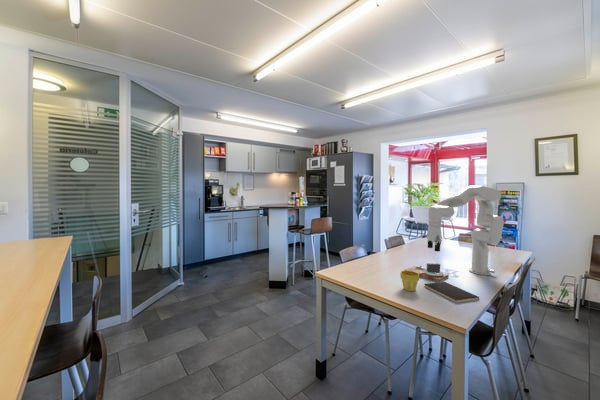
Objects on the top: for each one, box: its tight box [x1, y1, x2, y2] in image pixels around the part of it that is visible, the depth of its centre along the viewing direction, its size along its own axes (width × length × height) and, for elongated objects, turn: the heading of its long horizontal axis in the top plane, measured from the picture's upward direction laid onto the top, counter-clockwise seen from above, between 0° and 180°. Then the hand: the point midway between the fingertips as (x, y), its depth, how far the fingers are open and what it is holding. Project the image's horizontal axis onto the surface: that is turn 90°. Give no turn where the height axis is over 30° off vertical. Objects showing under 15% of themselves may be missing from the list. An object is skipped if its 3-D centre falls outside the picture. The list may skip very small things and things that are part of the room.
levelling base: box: [403, 265, 449, 283], centre depth 176 cm, size 24×14×4 cm, turn 38°
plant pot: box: [399, 270, 420, 292], centre depth 151 cm, size 10×10×10 cm
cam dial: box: [419, 262, 444, 277], centre depth 172 cm, size 15×12×7 cm
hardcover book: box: [423, 281, 480, 304], centre depth 146 cm, size 16×23×2 cm
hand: (433, 249), depth 171 cm, fingers open, 9 cm apart
